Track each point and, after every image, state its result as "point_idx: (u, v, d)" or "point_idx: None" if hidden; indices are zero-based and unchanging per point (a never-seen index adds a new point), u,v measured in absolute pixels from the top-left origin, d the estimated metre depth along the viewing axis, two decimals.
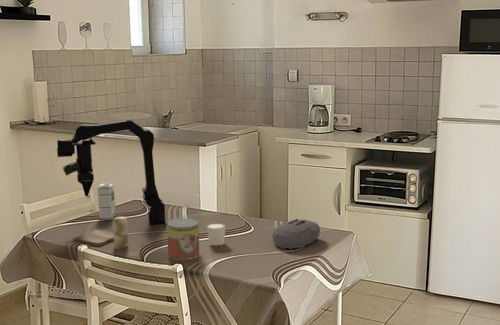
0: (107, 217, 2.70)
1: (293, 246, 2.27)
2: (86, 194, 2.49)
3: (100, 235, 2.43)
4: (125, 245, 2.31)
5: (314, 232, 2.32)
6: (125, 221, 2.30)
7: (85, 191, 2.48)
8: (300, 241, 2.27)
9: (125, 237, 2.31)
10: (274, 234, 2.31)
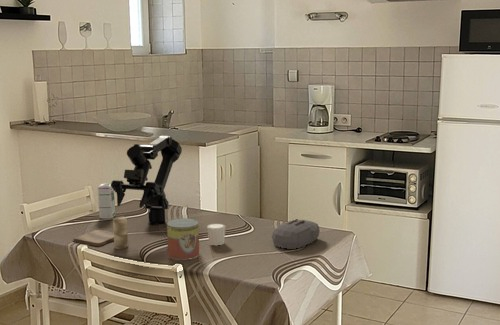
0: (107, 217, 2.70)
1: (293, 246, 2.27)
2: (141, 205, 2.37)
3: (100, 235, 2.43)
4: (125, 245, 2.31)
5: (314, 232, 2.32)
6: (125, 221, 2.30)
7: (142, 202, 2.37)
8: (299, 241, 2.27)
9: (125, 237, 2.31)
10: (274, 234, 2.31)
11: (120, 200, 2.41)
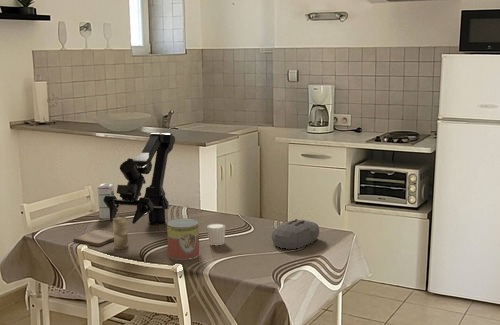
0: (107, 217, 2.70)
1: (292, 246, 2.27)
2: (134, 221, 2.31)
3: (100, 235, 2.43)
4: (125, 245, 2.31)
5: (313, 232, 2.32)
6: (125, 221, 2.30)
7: (136, 218, 2.32)
8: (299, 241, 2.27)
9: (125, 237, 2.31)
10: (274, 234, 2.31)
11: (113, 216, 2.35)
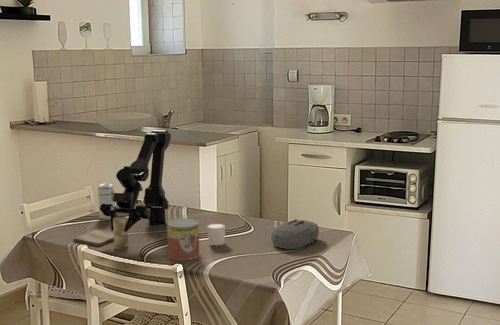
0: (107, 217, 2.70)
1: (292, 247, 2.27)
2: (126, 229, 2.30)
3: (100, 235, 2.43)
4: (125, 245, 2.31)
5: (313, 232, 2.32)
6: (125, 221, 2.30)
7: (128, 226, 2.30)
8: (299, 242, 2.27)
9: (125, 237, 2.31)
10: (273, 235, 2.30)
11: None
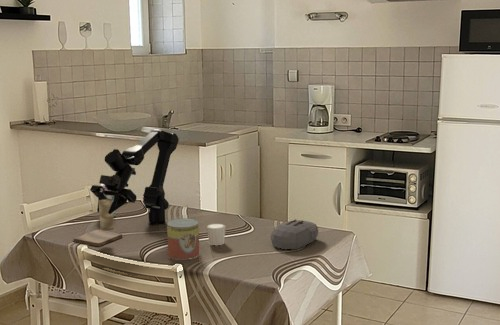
0: None
1: (291, 247, 2.27)
2: (110, 212, 2.32)
3: (100, 235, 2.43)
4: (109, 227, 2.34)
5: (312, 233, 2.32)
6: (110, 203, 2.32)
7: (112, 208, 2.32)
8: (298, 242, 2.26)
9: (109, 219, 2.33)
10: (273, 235, 2.30)
11: None
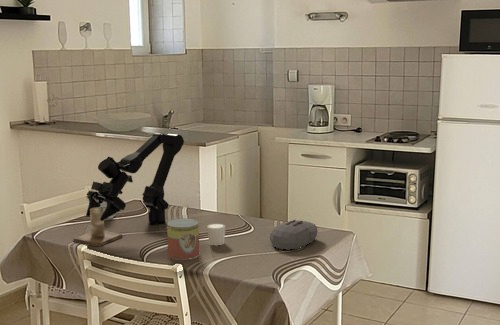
0: None
1: (291, 247, 2.26)
2: (102, 218, 2.36)
3: None
4: (99, 235, 2.39)
5: (312, 233, 2.31)
6: (99, 212, 2.38)
7: (104, 215, 2.36)
8: (297, 242, 2.26)
9: (99, 227, 2.39)
10: (272, 235, 2.30)
11: None
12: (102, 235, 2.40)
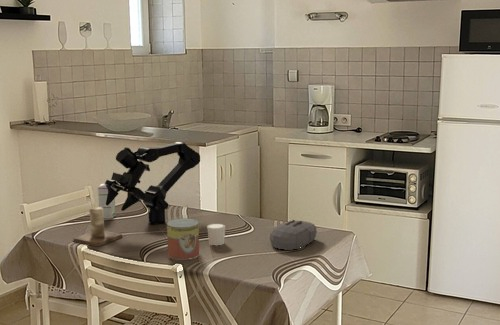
0: (107, 217, 2.70)
1: (291, 247, 2.26)
2: (123, 209, 2.44)
3: None
4: (99, 235, 2.39)
5: (311, 233, 2.31)
6: (99, 212, 2.38)
7: (125, 206, 2.44)
8: (298, 242, 2.26)
9: (99, 227, 2.39)
10: (272, 236, 2.29)
11: (110, 200, 2.50)
12: (102, 235, 2.40)
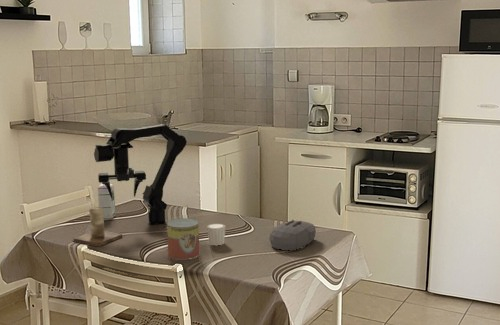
0: (107, 217, 2.70)
1: (291, 248, 2.26)
2: (134, 194, 2.55)
3: None
4: (99, 235, 2.39)
5: (311, 233, 2.31)
6: (99, 212, 2.38)
7: (136, 191, 2.55)
8: (298, 242, 2.26)
9: (99, 227, 2.39)
10: (272, 236, 2.29)
11: None
12: (102, 235, 2.40)
